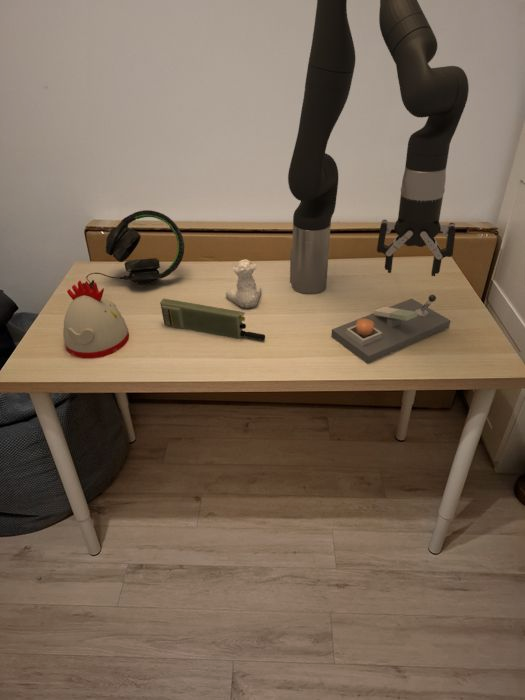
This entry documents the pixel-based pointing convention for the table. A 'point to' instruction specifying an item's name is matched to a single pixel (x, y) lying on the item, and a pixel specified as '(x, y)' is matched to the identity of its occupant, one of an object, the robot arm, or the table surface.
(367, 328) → the button
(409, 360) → the table surface
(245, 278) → the sitting furry creature
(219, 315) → the handheld radio
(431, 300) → the lever
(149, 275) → the headset
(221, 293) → the table surface
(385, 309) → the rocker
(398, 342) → the panel
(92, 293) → the kitchen timer
